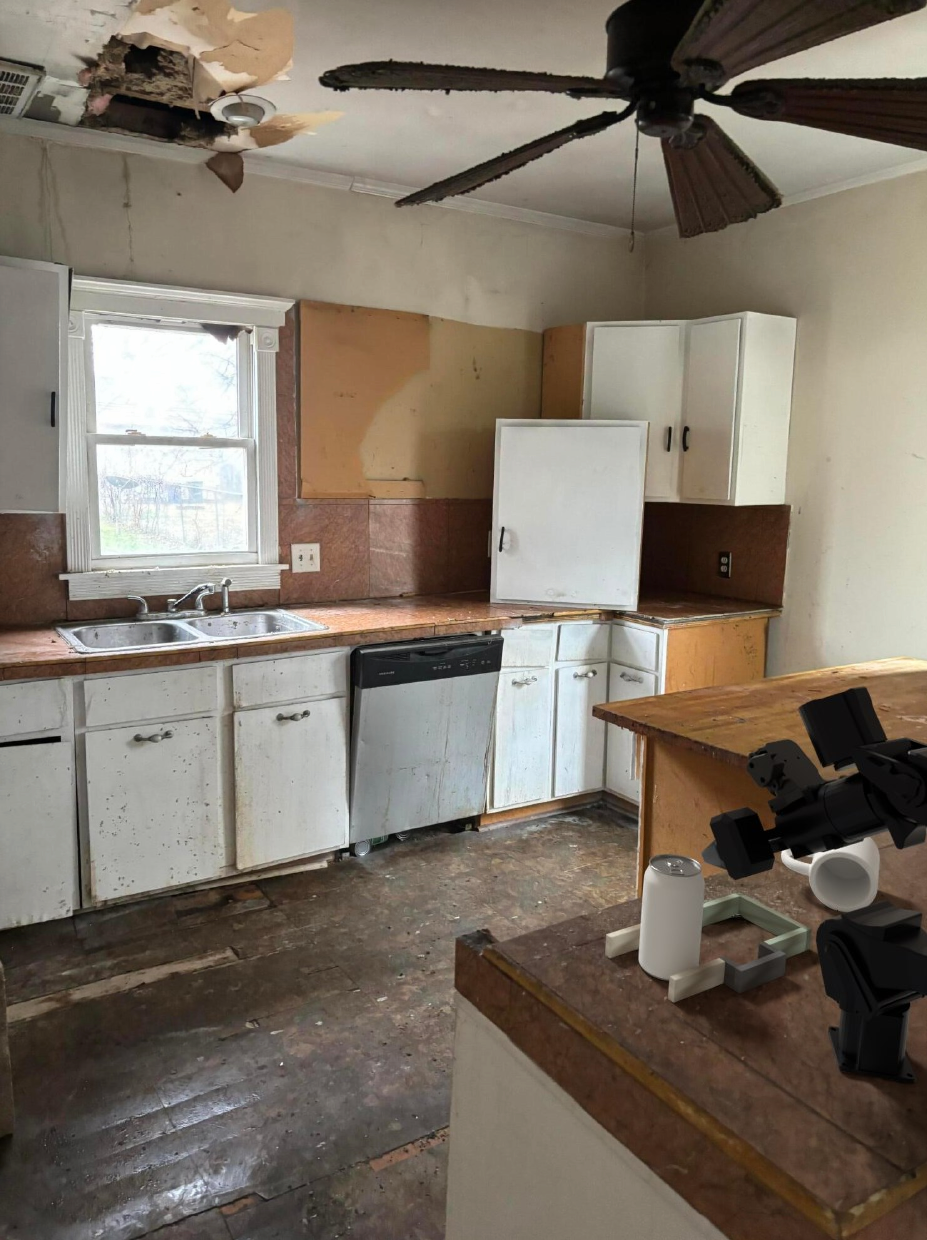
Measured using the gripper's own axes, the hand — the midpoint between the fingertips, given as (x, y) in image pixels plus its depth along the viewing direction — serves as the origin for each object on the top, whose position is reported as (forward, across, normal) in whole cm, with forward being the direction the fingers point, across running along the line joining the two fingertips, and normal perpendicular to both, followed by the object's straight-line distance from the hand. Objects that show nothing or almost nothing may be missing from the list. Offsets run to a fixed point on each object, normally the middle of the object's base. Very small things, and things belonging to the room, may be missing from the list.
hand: (733, 849), depth 96 cm
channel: (+10, -1, +10) cm, 14 cm away
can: (+10, +6, +10) cm, 15 cm away
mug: (+13, -26, +8) cm, 31 cm away
